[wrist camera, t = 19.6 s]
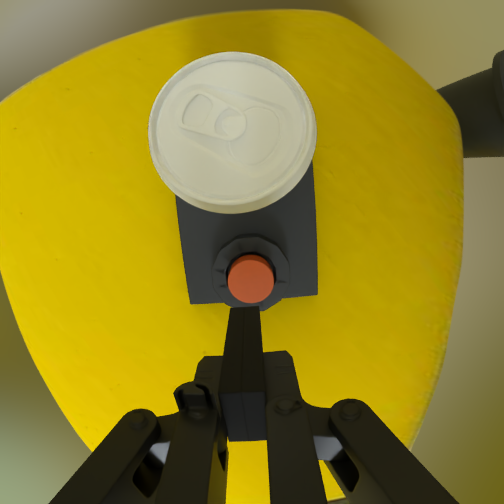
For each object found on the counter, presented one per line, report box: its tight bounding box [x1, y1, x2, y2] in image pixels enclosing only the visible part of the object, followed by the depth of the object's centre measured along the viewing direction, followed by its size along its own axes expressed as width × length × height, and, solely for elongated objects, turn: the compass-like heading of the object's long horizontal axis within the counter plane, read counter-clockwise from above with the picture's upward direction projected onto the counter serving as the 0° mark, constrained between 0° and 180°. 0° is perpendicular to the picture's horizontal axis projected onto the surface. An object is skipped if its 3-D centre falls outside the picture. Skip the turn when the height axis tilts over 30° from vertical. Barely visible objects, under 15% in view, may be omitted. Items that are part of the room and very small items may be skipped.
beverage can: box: [148, 52, 317, 214], centre depth 16 cm, size 8×8×12 cm
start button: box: [228, 254, 274, 303], centre depth 22 cm, size 4×4×2 cm
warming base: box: [175, 160, 318, 311], centre depth 23 cm, size 18×12×3 cm, turn 5°
